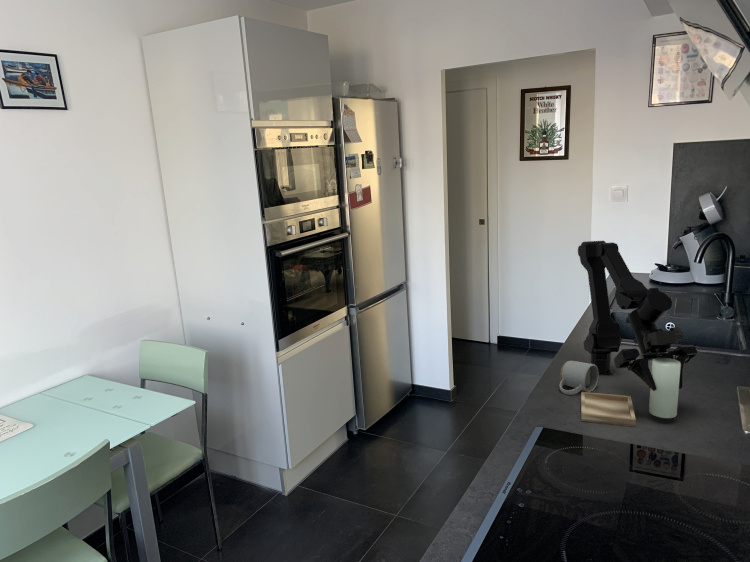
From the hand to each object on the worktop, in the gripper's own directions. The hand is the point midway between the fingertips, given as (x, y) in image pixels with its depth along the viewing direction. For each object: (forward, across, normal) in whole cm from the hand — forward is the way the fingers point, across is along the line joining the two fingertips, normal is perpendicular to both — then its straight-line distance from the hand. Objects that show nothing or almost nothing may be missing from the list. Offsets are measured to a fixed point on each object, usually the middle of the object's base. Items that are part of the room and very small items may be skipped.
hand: (667, 389), depth 133 cm
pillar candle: (+4, 0, +6) cm, 7 cm away
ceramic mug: (-9, -13, +22) cm, 27 cm away
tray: (+1, -11, +11) cm, 16 cm away
